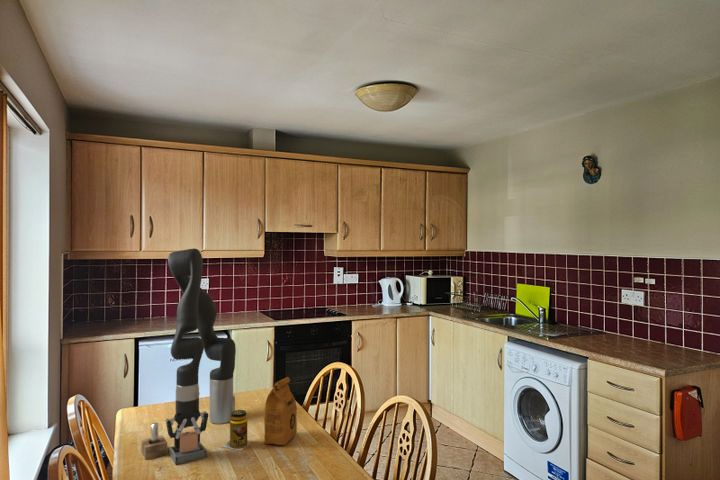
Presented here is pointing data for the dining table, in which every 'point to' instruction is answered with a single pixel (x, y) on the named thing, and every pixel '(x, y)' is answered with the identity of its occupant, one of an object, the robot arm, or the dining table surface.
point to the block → (188, 440)
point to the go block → (154, 448)
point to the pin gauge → (154, 433)
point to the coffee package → (280, 414)
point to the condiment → (238, 431)
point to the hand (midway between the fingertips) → (187, 446)
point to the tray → (187, 454)
